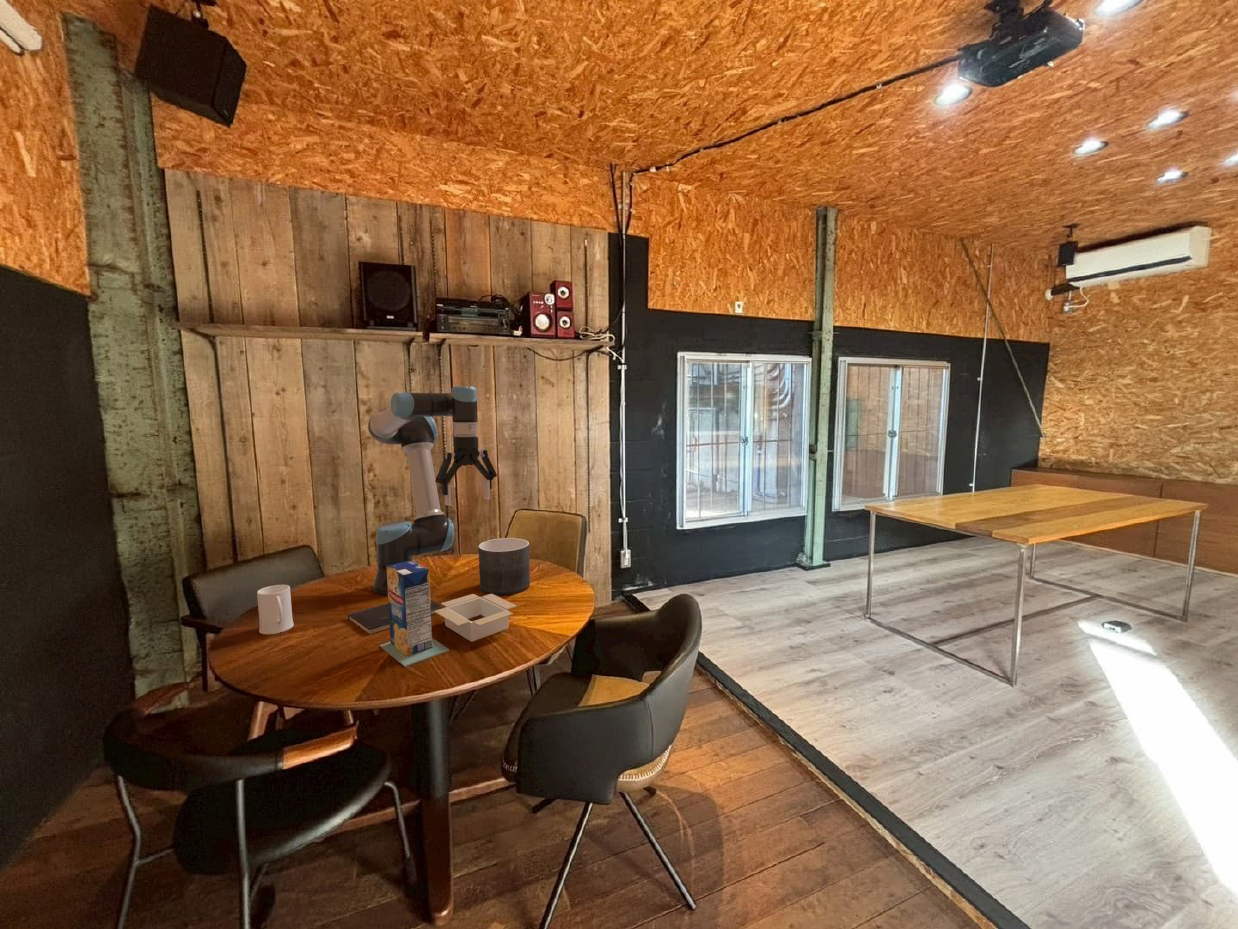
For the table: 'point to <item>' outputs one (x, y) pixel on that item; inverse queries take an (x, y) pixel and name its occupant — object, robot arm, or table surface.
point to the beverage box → (409, 607)
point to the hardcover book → (379, 617)
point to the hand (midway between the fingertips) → (468, 502)
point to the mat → (416, 657)
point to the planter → (504, 566)
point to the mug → (275, 609)
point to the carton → (472, 607)
